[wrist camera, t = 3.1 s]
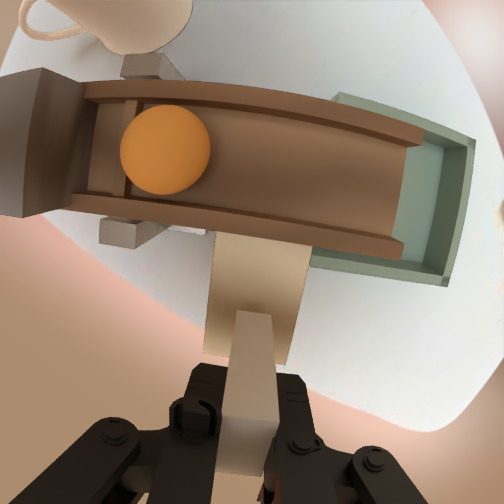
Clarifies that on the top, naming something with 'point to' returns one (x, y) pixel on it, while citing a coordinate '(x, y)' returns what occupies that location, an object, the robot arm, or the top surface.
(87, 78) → the top surface
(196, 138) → the ball
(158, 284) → the top surface
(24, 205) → the lever
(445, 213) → the tray
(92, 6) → the mug
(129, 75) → the stand
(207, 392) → the robot arm
